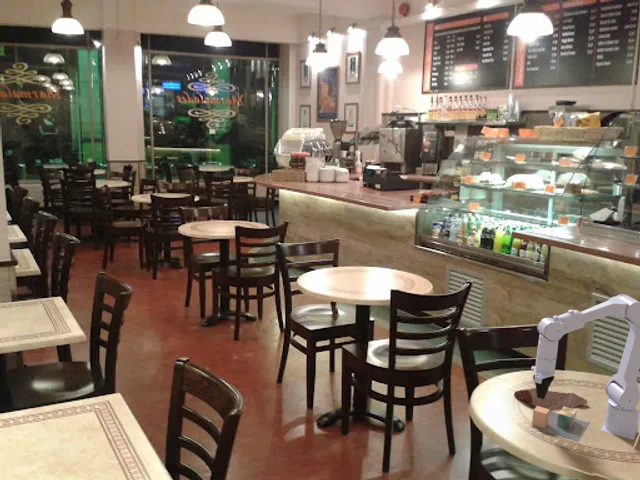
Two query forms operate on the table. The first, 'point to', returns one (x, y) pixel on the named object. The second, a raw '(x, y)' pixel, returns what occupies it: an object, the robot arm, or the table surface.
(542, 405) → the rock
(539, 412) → the terracotta block
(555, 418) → the slate board
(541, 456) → the table surface
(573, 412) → the beech block
